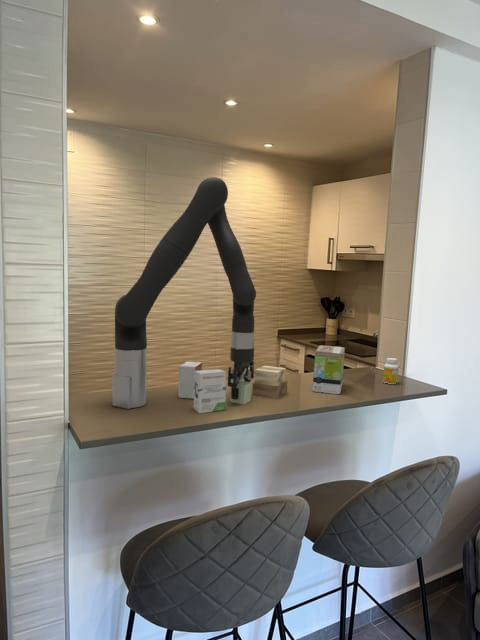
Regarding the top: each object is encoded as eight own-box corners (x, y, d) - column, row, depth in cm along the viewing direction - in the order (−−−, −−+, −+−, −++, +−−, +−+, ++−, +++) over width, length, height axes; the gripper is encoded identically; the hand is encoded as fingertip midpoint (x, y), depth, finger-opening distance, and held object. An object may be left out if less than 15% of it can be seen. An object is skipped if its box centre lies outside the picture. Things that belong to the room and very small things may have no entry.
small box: (194, 399, 145) (195, 367, 144) (177, 397, 146) (178, 365, 145) (201, 392, 153) (202, 362, 151) (185, 391, 154) (186, 361, 153)
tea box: (341, 395, 156) (343, 352, 155) (311, 392, 159) (314, 350, 157) (342, 384, 171) (345, 346, 169) (316, 382, 173) (318, 344, 172)
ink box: (219, 405, 139) (220, 368, 138) (226, 410, 134) (227, 371, 133) (192, 408, 135) (193, 369, 134) (198, 413, 131) (199, 373, 129)
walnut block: (277, 400, 148) (277, 386, 148) (252, 395, 152) (252, 382, 152) (286, 393, 156) (287, 381, 156) (262, 389, 160) (263, 377, 160)
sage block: (244, 404, 141) (244, 385, 141) (229, 401, 143) (230, 383, 143) (250, 400, 146) (251, 382, 145) (236, 398, 148) (237, 380, 147)
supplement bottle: (380, 382, 177) (381, 357, 176) (391, 381, 179) (393, 357, 178) (388, 385, 172) (390, 360, 171) (400, 384, 174) (402, 360, 173)
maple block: (276, 386, 148) (277, 372, 148) (254, 382, 152) (255, 369, 151) (285, 381, 155) (285, 368, 155) (263, 378, 159) (264, 365, 158)
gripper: (241, 341, 151) (239, 389, 152) (221, 347, 138) (219, 399, 140) (262, 344, 148) (260, 392, 149) (243, 350, 135) (241, 403, 137)
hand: (240, 395), depth 144 cm, fingers open, 8 cm apart
